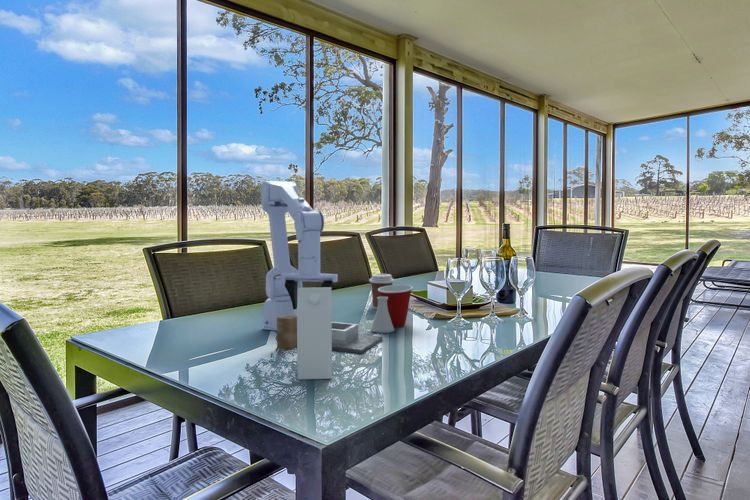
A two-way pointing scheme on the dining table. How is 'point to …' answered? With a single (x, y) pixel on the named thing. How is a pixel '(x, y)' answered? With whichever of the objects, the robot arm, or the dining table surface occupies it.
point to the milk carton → (314, 333)
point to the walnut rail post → (287, 332)
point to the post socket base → (351, 338)
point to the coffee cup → (379, 285)
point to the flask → (382, 318)
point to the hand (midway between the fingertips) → (309, 308)
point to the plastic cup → (397, 302)
